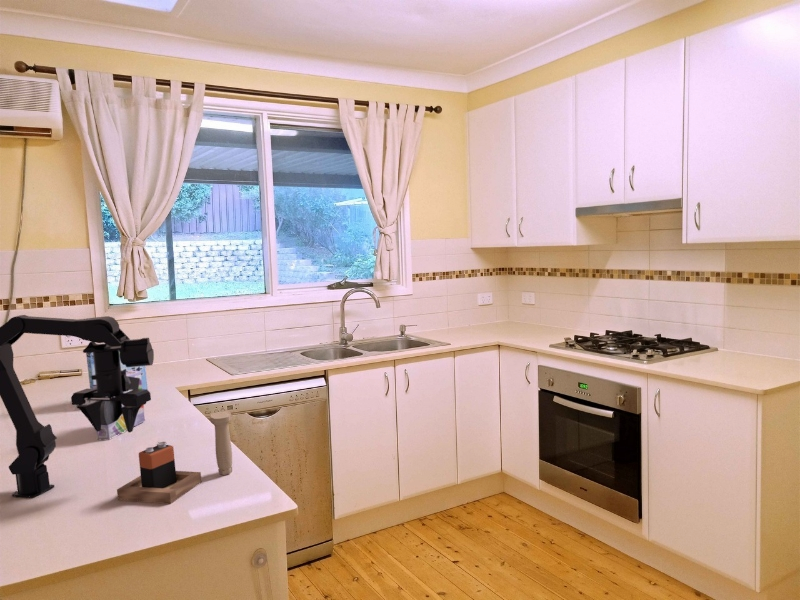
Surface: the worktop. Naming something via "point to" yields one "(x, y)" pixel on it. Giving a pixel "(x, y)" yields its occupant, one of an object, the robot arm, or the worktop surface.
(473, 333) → the worktop surface
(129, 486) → the brown wooden flat tray
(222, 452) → the handle
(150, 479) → the battery
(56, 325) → the robot arm
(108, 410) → the cake pan box
